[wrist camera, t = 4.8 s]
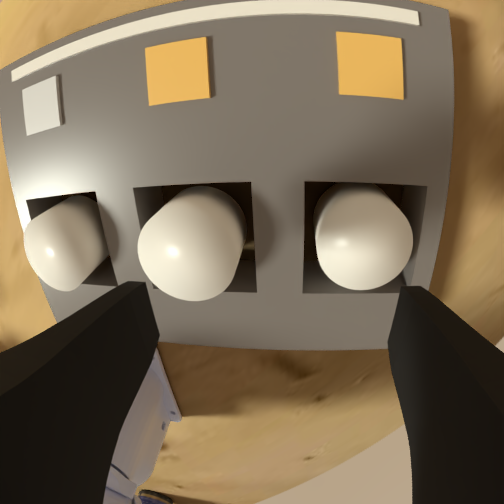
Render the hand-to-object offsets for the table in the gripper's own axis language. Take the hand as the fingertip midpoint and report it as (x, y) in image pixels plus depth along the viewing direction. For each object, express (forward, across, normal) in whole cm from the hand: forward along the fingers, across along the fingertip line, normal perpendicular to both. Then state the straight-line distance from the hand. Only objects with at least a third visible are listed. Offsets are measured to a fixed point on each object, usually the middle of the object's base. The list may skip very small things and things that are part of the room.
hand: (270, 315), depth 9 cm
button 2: (+6, +10, 0) cm, 12 cm away
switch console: (+8, +4, -2) cm, 9 cm away
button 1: (+7, -3, 0) cm, 8 cm away
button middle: (+6, +3, 0) cm, 7 cm away
